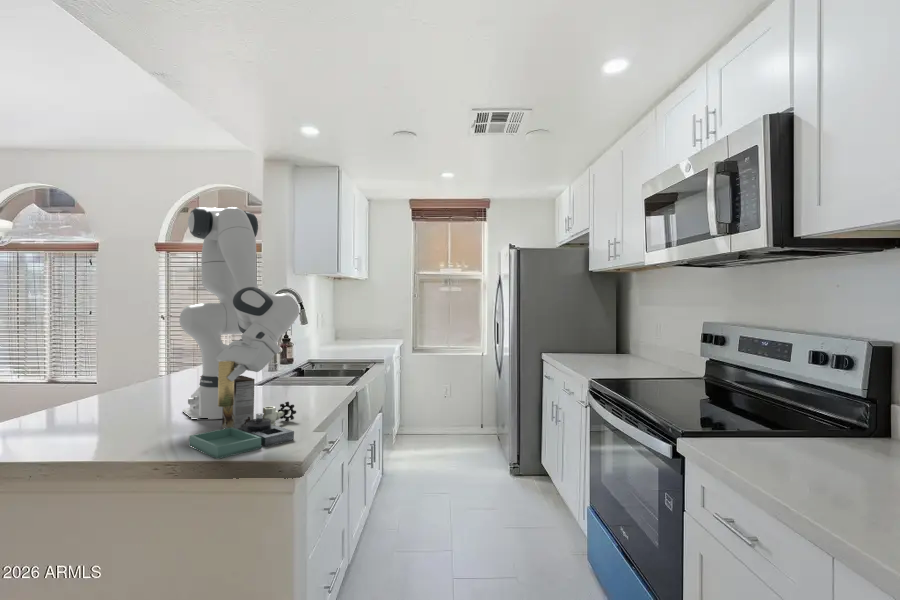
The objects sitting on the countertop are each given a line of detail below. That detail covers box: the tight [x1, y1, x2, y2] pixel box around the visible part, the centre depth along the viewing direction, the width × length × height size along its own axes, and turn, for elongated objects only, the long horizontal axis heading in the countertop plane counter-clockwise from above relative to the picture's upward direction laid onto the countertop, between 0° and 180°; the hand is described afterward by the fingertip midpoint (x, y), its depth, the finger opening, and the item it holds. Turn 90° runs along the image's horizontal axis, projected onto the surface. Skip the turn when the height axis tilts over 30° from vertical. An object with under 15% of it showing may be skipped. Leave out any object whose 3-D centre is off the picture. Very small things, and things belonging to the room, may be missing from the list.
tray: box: [188, 427, 262, 459], centre depth 135 cm, size 16×12×3 cm
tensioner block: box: [238, 413, 295, 448], centre depth 144 cm, size 15×9×6 cm, turn 51°
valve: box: [262, 401, 297, 426], centre depth 159 cm, size 7×7×12 cm
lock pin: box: [218, 361, 235, 407], centre depth 135 cm, size 4×4×12 cm
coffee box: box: [221, 374, 255, 429], centre depth 154 cm, size 9×6×16 cm
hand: (223, 378), depth 134 cm, fingers closed on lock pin, 4 cm apart
